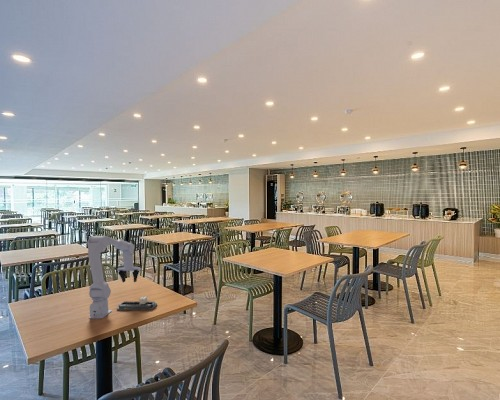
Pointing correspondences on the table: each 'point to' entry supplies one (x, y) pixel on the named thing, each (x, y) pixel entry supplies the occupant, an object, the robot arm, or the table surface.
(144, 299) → the fader knob
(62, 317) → the table surface
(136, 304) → the console
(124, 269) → the robot arm
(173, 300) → the table surface
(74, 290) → the table surface
